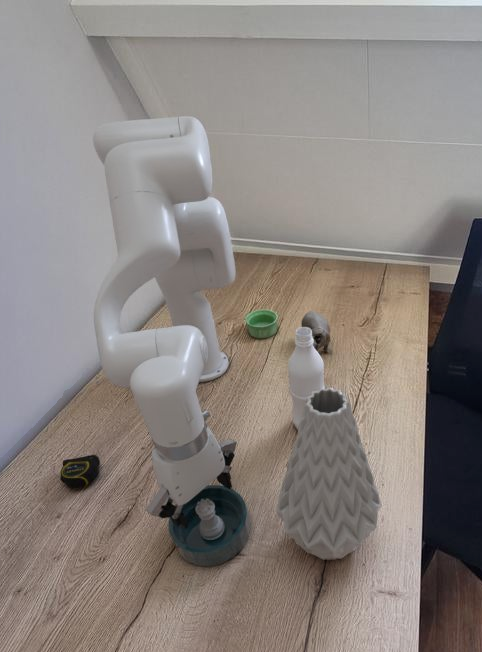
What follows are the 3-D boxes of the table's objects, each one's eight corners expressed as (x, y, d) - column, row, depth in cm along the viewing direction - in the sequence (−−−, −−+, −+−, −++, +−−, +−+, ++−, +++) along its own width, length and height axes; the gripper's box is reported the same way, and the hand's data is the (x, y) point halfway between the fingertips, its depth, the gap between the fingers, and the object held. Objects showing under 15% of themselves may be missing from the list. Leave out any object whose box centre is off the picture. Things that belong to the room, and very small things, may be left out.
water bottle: (322, 439, 97) (319, 344, 80) (289, 435, 98) (280, 341, 81) (327, 416, 102) (326, 322, 85) (296, 412, 103) (289, 319, 86)
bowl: (160, 537, 81) (152, 522, 78) (215, 489, 89) (211, 473, 85) (209, 583, 75) (203, 568, 71) (265, 526, 82) (262, 510, 79)
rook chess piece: (214, 545, 79) (205, 520, 74) (195, 534, 81) (185, 508, 75) (230, 526, 82) (222, 500, 76) (211, 515, 84) (202, 489, 78)
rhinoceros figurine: (332, 320, 126) (327, 298, 111) (334, 368, 123) (329, 351, 108) (305, 322, 127) (296, 300, 112) (306, 369, 124) (297, 353, 110)
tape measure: (103, 462, 95) (96, 450, 92) (98, 488, 90) (91, 477, 87) (69, 468, 94) (62, 456, 92) (62, 494, 89) (54, 483, 87)
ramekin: (285, 327, 129) (283, 314, 126) (266, 343, 124) (264, 330, 121) (259, 319, 133) (258, 306, 130) (240, 334, 127) (238, 321, 124)
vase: (263, 531, 81) (236, 395, 59) (333, 483, 88) (333, 346, 66) (321, 604, 71) (316, 475, 49) (396, 544, 78) (421, 406, 56)
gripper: (208, 391, 71) (226, 460, 83) (113, 461, 62) (148, 526, 74) (242, 412, 67) (255, 481, 79) (146, 489, 58) (177, 553, 70)
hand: (204, 503), depth 76 cm, fingers open, 9 cm apart
